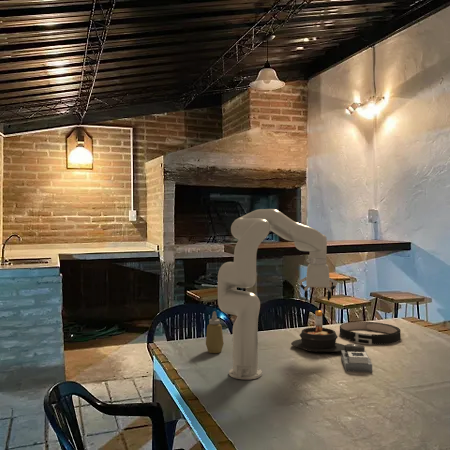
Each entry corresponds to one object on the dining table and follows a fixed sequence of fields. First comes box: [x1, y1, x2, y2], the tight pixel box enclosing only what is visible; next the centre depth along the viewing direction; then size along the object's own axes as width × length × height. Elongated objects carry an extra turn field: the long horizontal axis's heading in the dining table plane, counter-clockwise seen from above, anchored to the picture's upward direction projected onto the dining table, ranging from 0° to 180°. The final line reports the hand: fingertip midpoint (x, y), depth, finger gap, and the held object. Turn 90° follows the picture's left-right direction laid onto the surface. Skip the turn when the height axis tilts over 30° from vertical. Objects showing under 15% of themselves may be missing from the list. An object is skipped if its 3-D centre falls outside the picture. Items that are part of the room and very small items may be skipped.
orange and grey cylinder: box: [315, 310, 323, 332], centre depth 208 cm, size 3×3×9 cm
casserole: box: [290, 326, 346, 354], centre depth 208 cm, size 25×19×8 cm
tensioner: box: [340, 343, 373, 373], centre depth 186 cm, size 18×10×7 cm, turn 171°
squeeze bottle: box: [205, 311, 224, 354], centre depth 205 cm, size 8×8×18 cm
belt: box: [339, 321, 401, 345], centre depth 230 cm, size 29×30×5 cm
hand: (317, 299), depth 208 cm, fingers open, 9 cm apart
